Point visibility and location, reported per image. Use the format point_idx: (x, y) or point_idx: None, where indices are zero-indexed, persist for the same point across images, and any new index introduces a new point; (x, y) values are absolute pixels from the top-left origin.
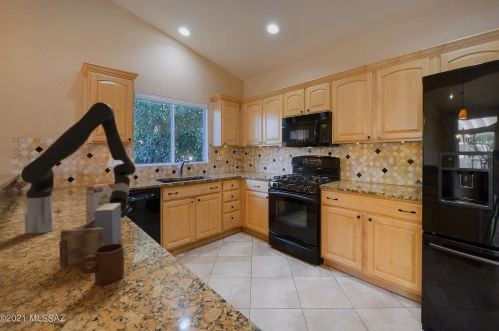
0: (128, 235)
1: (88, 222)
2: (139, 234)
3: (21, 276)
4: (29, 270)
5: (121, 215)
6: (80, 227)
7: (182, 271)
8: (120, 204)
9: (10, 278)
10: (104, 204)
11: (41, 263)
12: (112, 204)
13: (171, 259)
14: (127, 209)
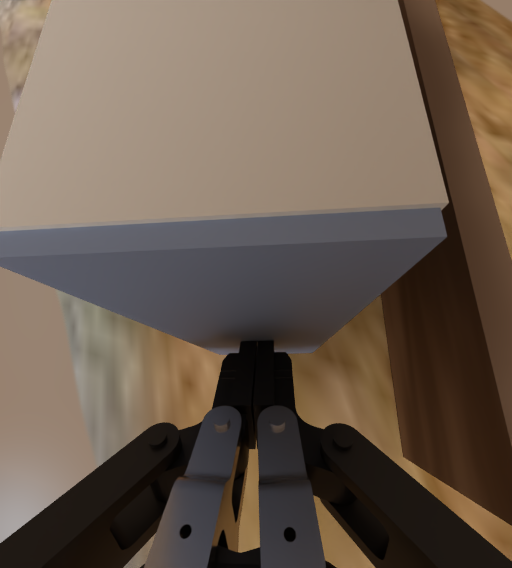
0: (180, 399)
1: (480, 230)
2: (108, 401)
3: (462, 25)
4: (471, 55)
5: (166, 427)
6: (452, 89)
7: (4, 4)
8: (24, 267)
9: (488, 19)
10: (401, 93)
11: (473, 98)
12: (174, 62)
13: (12, 64)
14: (25, 540)
